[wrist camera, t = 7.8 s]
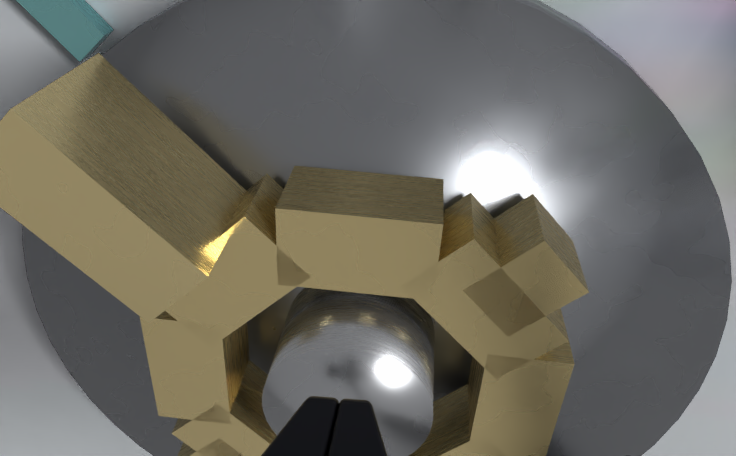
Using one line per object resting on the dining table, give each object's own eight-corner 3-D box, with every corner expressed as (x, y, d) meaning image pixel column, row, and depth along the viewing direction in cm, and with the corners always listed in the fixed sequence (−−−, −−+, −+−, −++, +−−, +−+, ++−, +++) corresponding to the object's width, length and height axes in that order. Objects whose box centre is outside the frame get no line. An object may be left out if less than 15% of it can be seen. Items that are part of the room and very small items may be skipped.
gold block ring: (685, 373, 20) (733, 481, 17) (348, 525, 27) (334, 625, 23) (257, -132, 14) (197, -120, 10) (-52, 227, 20) (-151, 306, 17)
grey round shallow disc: (626, 525, 27) (658, 650, 23) (123, 478, 29) (69, 586, 25) (839, -54, 15) (993, -10, 11) (-58, -66, 17) (-222, -33, 13)
